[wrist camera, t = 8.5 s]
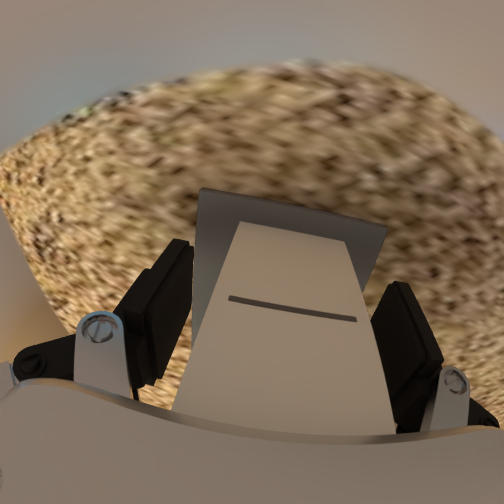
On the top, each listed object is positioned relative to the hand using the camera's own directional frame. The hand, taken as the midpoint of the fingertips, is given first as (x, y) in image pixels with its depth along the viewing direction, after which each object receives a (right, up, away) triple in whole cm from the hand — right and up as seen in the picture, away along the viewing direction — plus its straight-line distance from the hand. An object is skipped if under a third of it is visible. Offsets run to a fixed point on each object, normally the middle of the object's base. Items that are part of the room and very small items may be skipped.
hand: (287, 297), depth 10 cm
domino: (0, +2, +3) cm, 4 cm away
